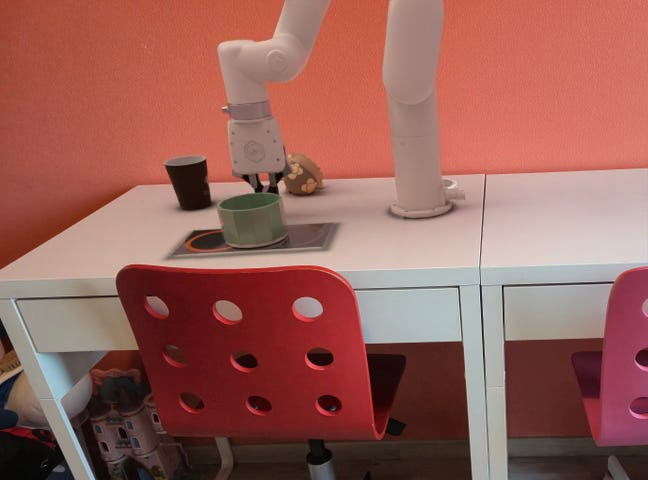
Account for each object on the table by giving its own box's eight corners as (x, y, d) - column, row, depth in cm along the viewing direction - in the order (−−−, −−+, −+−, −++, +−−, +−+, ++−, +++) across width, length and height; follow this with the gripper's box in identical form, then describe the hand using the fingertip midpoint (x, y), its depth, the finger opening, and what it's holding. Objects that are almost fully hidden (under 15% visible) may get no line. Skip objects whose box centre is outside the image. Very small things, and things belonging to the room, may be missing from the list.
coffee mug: (203, 212, 152) (192, 165, 147) (167, 211, 154) (155, 165, 149) (230, 196, 162) (220, 152, 157) (196, 196, 164) (186, 152, 159)
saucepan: (301, 212, 147) (295, 178, 144) (280, 246, 129) (273, 208, 126) (246, 215, 147) (239, 182, 143) (218, 249, 129) (209, 212, 126)
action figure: (340, 165, 168) (329, 180, 154) (311, 198, 171) (298, 215, 158) (307, 134, 165) (293, 146, 151) (278, 168, 168) (261, 183, 155)
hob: (335, 224, 141) (335, 221, 140) (324, 249, 128) (323, 247, 128) (193, 232, 140) (193, 229, 140) (168, 258, 128) (167, 255, 128)
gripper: (203, 117, 131) (225, 213, 140) (288, 112, 132) (304, 208, 141) (215, 109, 138) (235, 202, 147) (295, 105, 138) (311, 198, 147)
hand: (269, 204), depth 144 cm, fingers closed on saucepan
